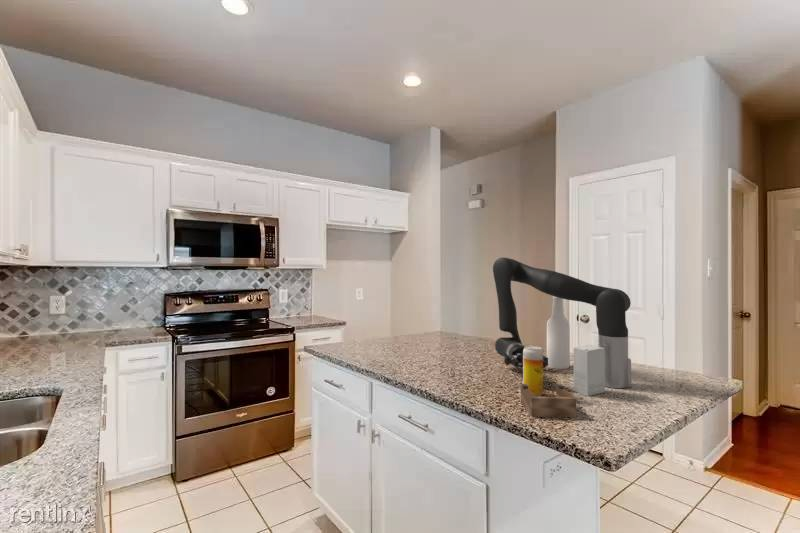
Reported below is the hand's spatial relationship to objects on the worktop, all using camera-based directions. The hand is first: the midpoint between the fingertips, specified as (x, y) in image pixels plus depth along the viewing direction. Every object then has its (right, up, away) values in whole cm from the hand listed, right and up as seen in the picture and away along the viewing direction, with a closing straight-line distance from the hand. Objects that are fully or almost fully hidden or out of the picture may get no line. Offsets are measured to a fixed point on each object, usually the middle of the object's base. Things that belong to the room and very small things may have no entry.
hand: (530, 364), depth 134 cm
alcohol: (+22, -10, +35) cm, 43 cm away
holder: (-1, -9, -16) cm, 18 cm away
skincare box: (+19, -9, 0) cm, 21 cm away
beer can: (0, -9, -2) cm, 10 cm away
